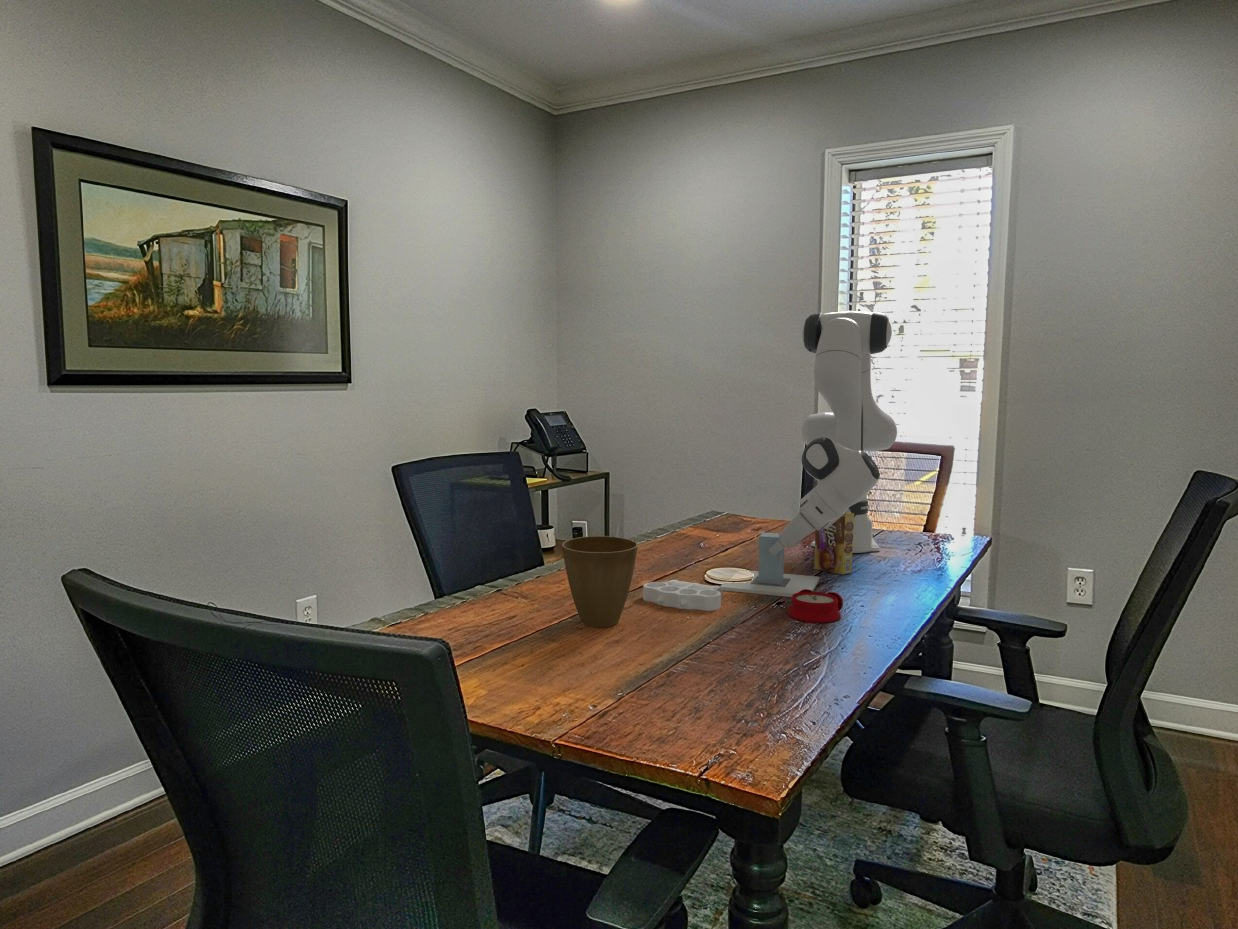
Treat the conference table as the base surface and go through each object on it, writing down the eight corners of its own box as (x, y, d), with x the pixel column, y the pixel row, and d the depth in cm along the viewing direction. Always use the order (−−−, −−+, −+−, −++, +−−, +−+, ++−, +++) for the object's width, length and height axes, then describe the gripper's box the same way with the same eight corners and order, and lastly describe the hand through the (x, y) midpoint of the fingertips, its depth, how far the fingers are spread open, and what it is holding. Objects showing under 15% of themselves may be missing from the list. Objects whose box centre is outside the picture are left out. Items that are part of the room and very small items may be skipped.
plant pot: (547, 621, 160) (547, 542, 159) (605, 607, 170) (605, 533, 168) (593, 639, 149) (593, 554, 147) (653, 623, 159) (653, 544, 157)
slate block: (762, 577, 192) (763, 532, 191) (783, 579, 190) (784, 533, 189) (758, 582, 188) (759, 536, 186) (779, 584, 186) (780, 537, 185)
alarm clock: (781, 604, 160) (798, 571, 173) (782, 631, 162) (799, 598, 175) (835, 610, 156) (847, 577, 169) (835, 638, 158) (848, 603, 171)
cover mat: (737, 572, 201) (737, 569, 201) (819, 580, 194) (819, 576, 194) (719, 590, 184) (719, 586, 184) (808, 598, 177) (808, 594, 177)
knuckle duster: (735, 600, 177) (707, 617, 165) (663, 589, 186) (631, 604, 174) (736, 585, 177) (707, 601, 164) (663, 575, 186) (631, 589, 174)
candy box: (853, 572, 201) (855, 512, 200) (842, 575, 198) (844, 514, 197) (823, 566, 208) (825, 508, 206) (813, 568, 205) (815, 509, 204)
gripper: (815, 493, 193) (773, 530, 198) (802, 505, 175) (756, 546, 179) (833, 513, 192) (791, 550, 197) (822, 527, 173) (776, 568, 178)
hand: (775, 548), depth 188 cm, fingers open, 8 cm apart
